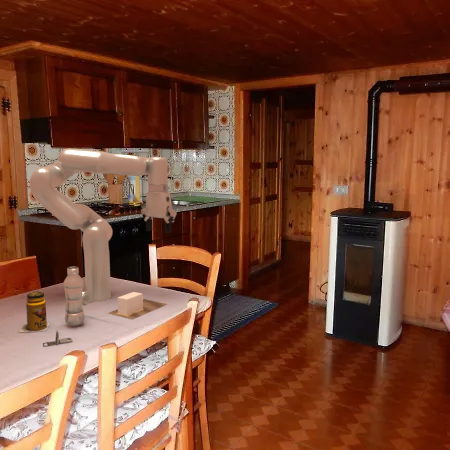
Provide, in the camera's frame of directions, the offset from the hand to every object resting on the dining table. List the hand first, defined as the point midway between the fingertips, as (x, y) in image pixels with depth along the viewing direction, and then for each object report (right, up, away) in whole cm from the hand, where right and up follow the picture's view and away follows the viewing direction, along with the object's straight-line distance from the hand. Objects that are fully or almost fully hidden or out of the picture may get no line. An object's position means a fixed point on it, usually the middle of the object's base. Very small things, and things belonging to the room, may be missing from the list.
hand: (158, 231), depth 175 cm
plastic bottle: (-25, -32, -24) cm, 47 cm away
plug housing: (-8, -29, -15) cm, 33 cm away
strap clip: (-25, -34, -39) cm, 58 cm away
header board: (-6, -30, -11) cm, 32 cm away
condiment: (-38, -32, -27) cm, 57 cm away
